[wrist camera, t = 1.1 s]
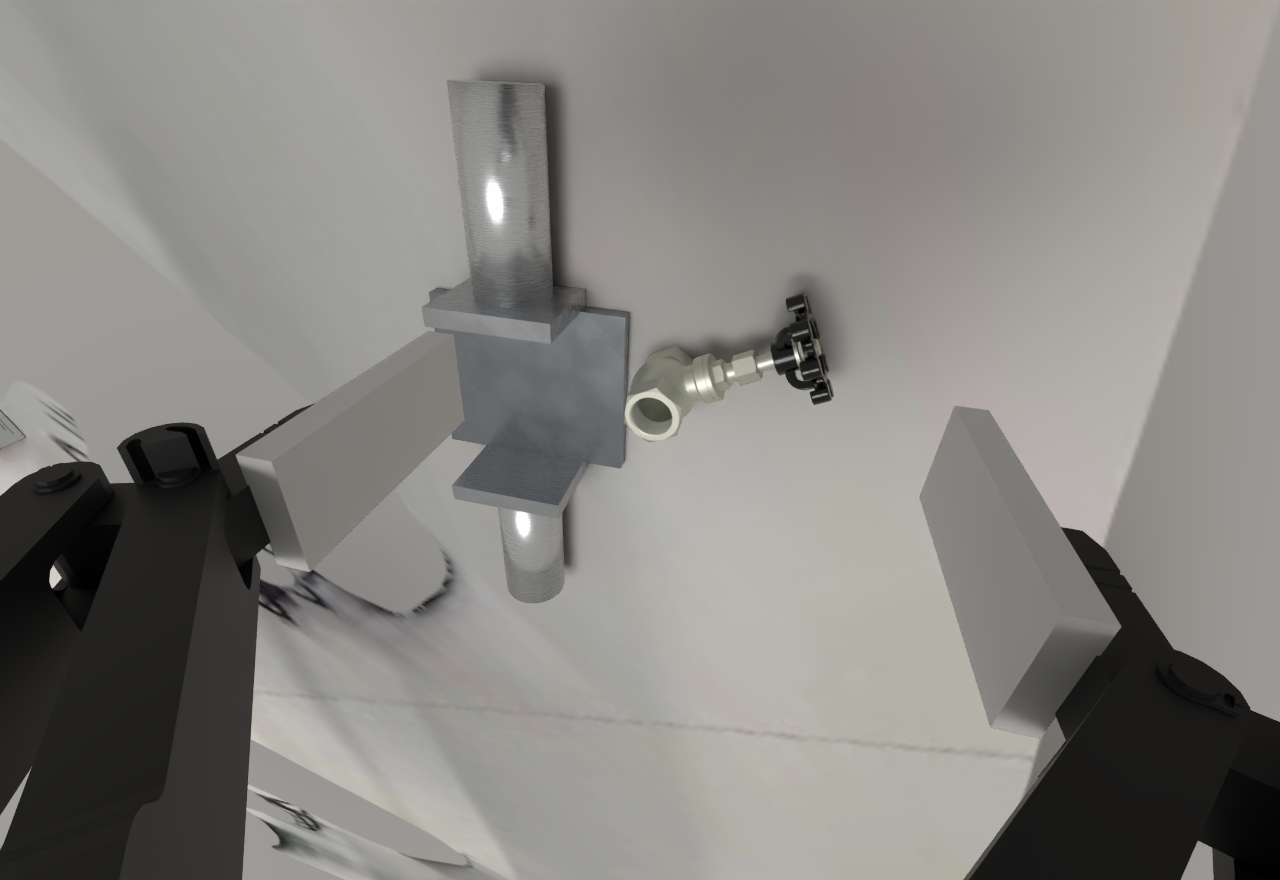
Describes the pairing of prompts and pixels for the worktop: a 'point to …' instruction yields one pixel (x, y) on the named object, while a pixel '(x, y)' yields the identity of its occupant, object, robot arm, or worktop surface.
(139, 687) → the robot arm
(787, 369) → the valve
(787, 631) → the worktop surface
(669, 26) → the worktop surface
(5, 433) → the ink box
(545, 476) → the pipe run
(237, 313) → the worktop surface
